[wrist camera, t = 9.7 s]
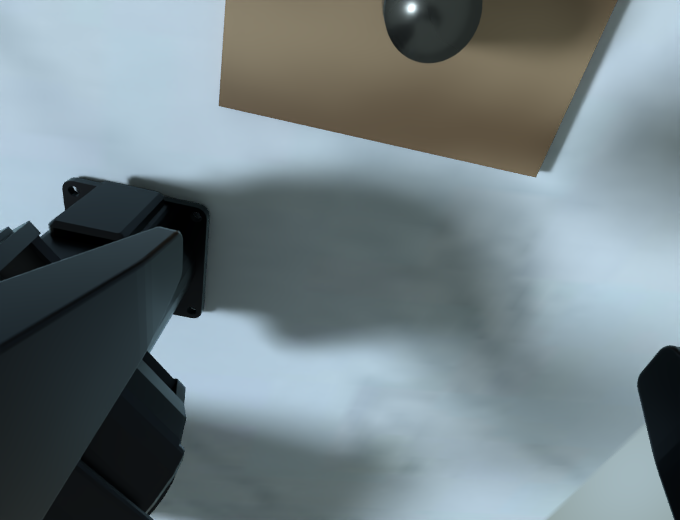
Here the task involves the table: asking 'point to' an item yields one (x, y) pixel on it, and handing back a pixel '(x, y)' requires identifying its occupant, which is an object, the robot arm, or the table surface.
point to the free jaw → (431, 27)
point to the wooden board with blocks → (414, 75)
